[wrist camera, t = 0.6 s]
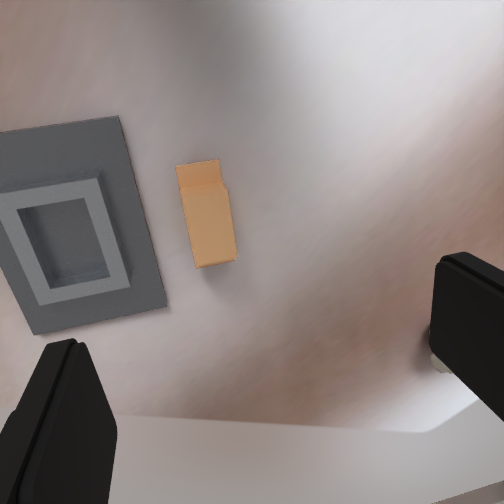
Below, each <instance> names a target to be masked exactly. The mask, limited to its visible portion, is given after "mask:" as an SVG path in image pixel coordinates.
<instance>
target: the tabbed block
mask: <svg viewBox="0 0 504 504" xmlns="http://www.w3.org/2000/svg"><path fill="white" fill-rule="evenodd" d="M175 169H176V173H177V178H178V183H179V188H180V194H181V200H182V204H183V209H184V214H185V219H186V223H187V228H188V233H189V238H190V242H191V247H192V252H193V257H194V261H195V266H196V269H197V268H202V267H207V266H212V265H217V264H221V263H226V262H231V261H235V260H234V258H238V256H237V249H236V242H235V236H234V229H233V222H232V215H231V209H230V202H229V195H228V191H227V189H226V187H225V185H224V184H223V182H222V176H221V170H220V163H219V159H215V160H209V161H203V162H197V163H190V164H184V165H178V166H175Z"/></svg>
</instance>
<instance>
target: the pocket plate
mask: <svg viewBox="0 0 504 504" xmlns="http://www.w3.org/2000/svg"><path fill="white" fill-rule="evenodd" d="M0 267H1V269H2V271H3V273H4V275H5V277H6V279H7V281H8V283H9V285H10V287H11V289H12V291H13V294H14V296H15V298H16V300H17V302H18V304H19V306H20V308H21V310H22V312H23V314H24V316H25V318H26V320H27V322H28V325H29V327H30V329H31V331H32V333H33V335H38V334H43V333H47V332H52V331H57V330H61V329H66V328H70V327H75V326H80V325H84V324H89V323H93V322H98V321H103V320H107V319H112V318H116V317H121V316H126V315H130V314H135V313H139V312H144V311H149V310H153V309H158V308H162V307H167V300H166V296H165V292H164V288H163V284H162V281H161V277H160V273H159V269H158V265H157V262H156V258H155V254H154V250H153V246H152V243H151V239H150V235H149V231H148V227H147V224H146V220H145V216H144V212H143V208H142V205H141V201H140V197H139V193H138V190H137V186H136V182H135V178H134V174H133V171H132V167H131V163H130V159H129V155H128V152H127V148H126V144H125V140H124V136H123V133H122V129H121V125H120V121H119V117H118V116H111V117H104V118H97V119H90V120H83V121H76V122H69V123H62V124H55V125H48V126H41V127H34V128H27V129H20V130H13V131H6V132H0Z"/></svg>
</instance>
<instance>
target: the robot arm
mask: <svg viewBox="0 0 504 504" xmlns="http://www.w3.org/2000/svg"><path fill="white" fill-rule="evenodd" d="M429 345H430V348H431V350H432V352H433V353H434V355H435V356H436V357H437V358H438V359H439V360H441V361H442V362H443V363H444V364H445V365H446V366H447V367H448V368H449V369H450V370H451V371H452V372H453V373H454V374H455V375H456V376H457V377H458V378H459V379H460V380H461V381H462V382H463V383H464V384H465V385H466V386H467V387H468V388H469V389H470V390H471V391H473V392H474V393H475V394H476V395H477V396H478V397H479V398H480V399H481V400H482V401H483V402H484V403H485V404H486V405H487V406H488V407H489V408H490V409H491V410H492V411H493V412H494V413H495V414H496V415H497V416H498V417H499V418H500V419H501V420H503V421H504V271H502V270H500V269H498V268H496V267H495V266H493V265H491V264H489V263H487V262H485V261H483V260H481V259H479V258H477V257H475V256H474V255H472V254H470V253H467V252H459V253H455V254H450V255H446V256H443V257H442V258H441V259H440V262H439V263H437V265H436V268H435V278H434V289H433V300H432V312H431V323H430V334H429ZM116 442H117V426H116V422H115V419H114V416H113V414H112V411H111V408H110V406H109V403H108V400H107V398H106V395H105V393H104V390H103V387H102V385H101V382H100V380H99V377H98V374H97V372H96V369H95V367H94V364H93V361H92V359H91V356H90V353H89V351H88V348H87V346H86V344H85V343H84V342H81V343H78V342H77V341H76V340H75V339H74V338H71V339H67V340H62V341H58V342H53V343H49V344H47V345H46V347H45V349H44V351H43V353H42V355H41V357H40V359H39V361H38V363H37V365H36V368H35V370H34V372H33V374H32V376H31V378H30V380H29V382H28V384H27V387H26V389H25V391H24V393H23V395H22V397H21V399H20V401H19V403H18V405H17V408H16V410H14V411H13V412H12V413H11V414H10V416H9V417H8V419H7V421H6V423H5V425H4V427H3V429H2V431H1V433H0V504H108V499H109V492H110V485H111V478H112V471H113V464H114V457H115V450H116ZM433 504H504V481H501V482H498V483H494V484H491V485H488V486H485V487H482V488H479V489H476V490H473V491H470V492H467V493H464V494H460V495H458V496H454V497H451V498H448V499H445V500H442V501H439V502H436V503H433Z"/></svg>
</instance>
